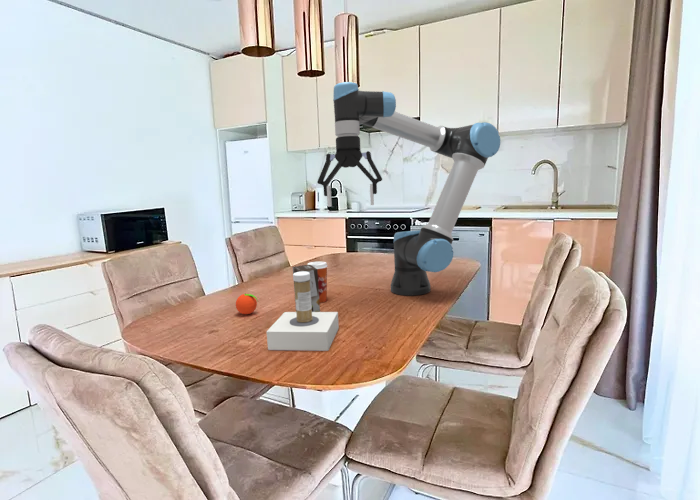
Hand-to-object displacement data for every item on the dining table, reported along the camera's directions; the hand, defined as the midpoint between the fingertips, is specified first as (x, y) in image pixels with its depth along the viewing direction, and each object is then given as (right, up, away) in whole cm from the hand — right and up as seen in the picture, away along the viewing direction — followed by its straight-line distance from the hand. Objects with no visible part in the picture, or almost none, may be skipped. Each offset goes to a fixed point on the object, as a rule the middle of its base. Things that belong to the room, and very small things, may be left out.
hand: (350, 205), depth 129 cm
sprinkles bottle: (-13, -34, -17) cm, 40 cm away
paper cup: (-12, -33, +20) cm, 40 cm away
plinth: (-13, -39, -16) cm, 44 cm away
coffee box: (-14, -36, +3) cm, 38 cm away
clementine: (-34, -36, +8) cm, 50 cm away
